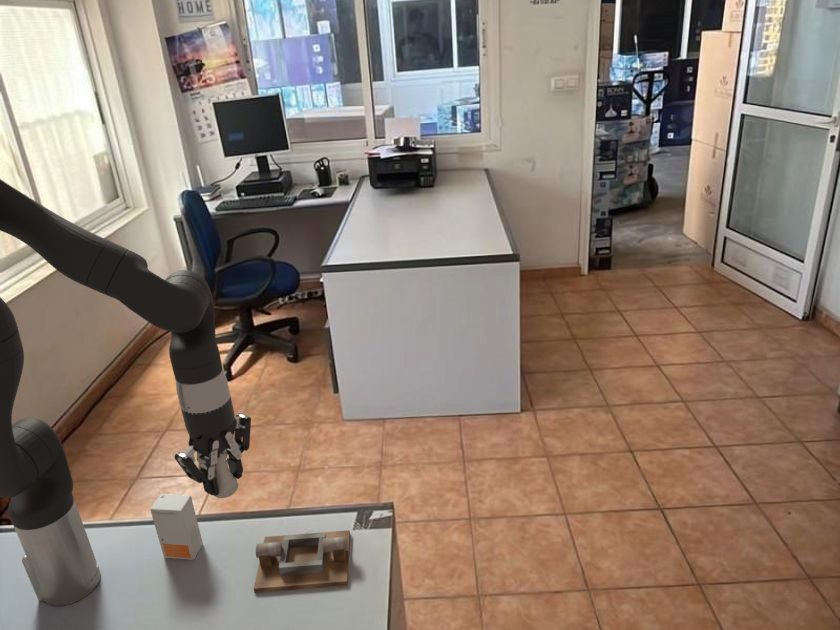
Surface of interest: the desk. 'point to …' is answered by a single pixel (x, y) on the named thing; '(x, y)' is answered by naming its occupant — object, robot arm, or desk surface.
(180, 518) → the skincare box
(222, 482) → the rook chess piece
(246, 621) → the desk surface
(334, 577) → the frame on base plate
